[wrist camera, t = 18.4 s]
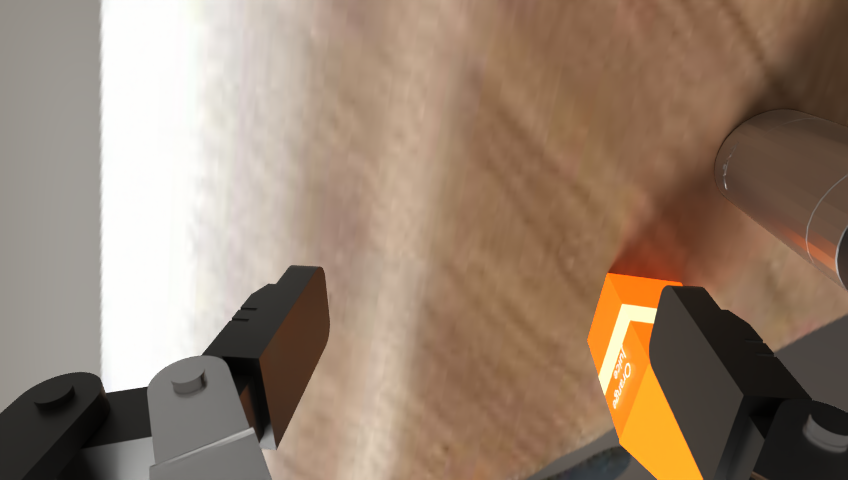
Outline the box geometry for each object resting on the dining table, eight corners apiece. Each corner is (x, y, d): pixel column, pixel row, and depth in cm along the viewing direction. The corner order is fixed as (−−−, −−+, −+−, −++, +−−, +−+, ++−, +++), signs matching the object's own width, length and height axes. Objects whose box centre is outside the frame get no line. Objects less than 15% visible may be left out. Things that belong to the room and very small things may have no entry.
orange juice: (682, 282, 50) (794, 434, 32) (656, 350, 54) (744, 521, 36) (605, 272, 51) (674, 417, 33) (585, 340, 54) (636, 504, 36)
